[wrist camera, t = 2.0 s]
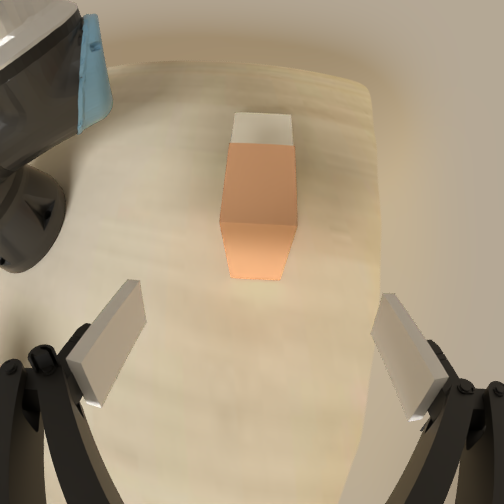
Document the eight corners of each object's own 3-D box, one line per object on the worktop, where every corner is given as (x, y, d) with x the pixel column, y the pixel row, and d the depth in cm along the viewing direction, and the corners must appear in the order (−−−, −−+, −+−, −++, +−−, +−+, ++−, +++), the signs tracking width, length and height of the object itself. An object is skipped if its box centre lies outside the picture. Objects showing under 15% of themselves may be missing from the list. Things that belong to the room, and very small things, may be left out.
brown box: (230, 277, 30) (218, 222, 19) (235, 217, 32) (228, 142, 21) (280, 280, 30) (298, 226, 19) (281, 219, 32) (295, 145, 21)
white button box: (226, 211, 33) (223, 187, 28) (235, 136, 37) (234, 110, 33) (290, 214, 33) (296, 190, 28) (288, 138, 37) (292, 113, 33)
